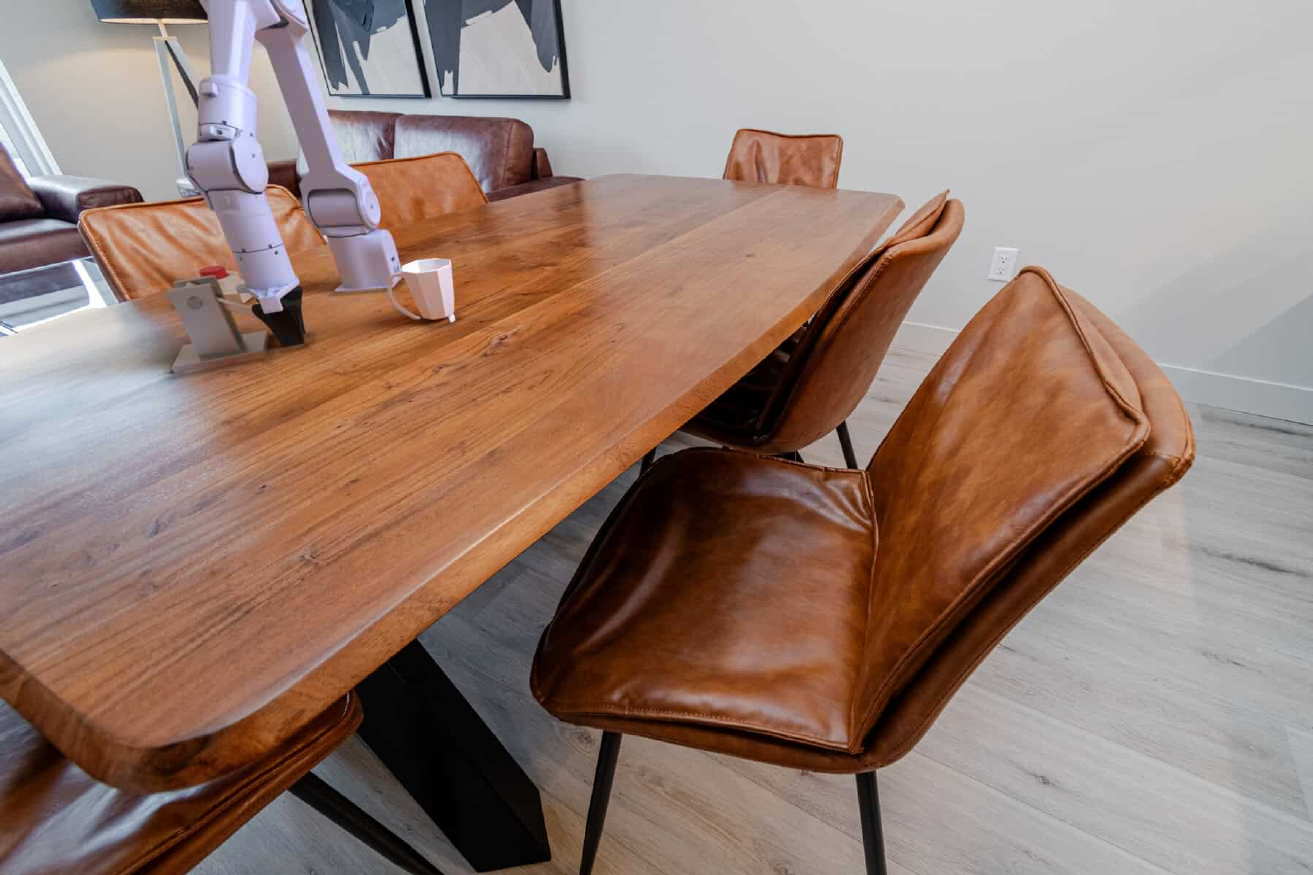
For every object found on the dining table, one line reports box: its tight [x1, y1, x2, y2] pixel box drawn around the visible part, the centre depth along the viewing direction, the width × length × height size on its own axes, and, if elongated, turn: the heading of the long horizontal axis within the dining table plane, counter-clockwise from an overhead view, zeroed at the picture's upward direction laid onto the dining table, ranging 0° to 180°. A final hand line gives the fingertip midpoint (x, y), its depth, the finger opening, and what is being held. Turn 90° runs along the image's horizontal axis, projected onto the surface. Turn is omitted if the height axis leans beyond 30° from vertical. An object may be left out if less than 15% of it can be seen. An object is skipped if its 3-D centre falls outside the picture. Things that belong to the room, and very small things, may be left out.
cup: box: [386, 257, 456, 323], centre depth 84 cm, size 7×10×8 cm
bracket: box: [166, 275, 270, 374], centre depth 76 cm, size 10×8×10 cm
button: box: [198, 265, 228, 280], centre depth 98 cm, size 4×4×2 cm
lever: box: [185, 282, 260, 320], centre depth 77 cm, size 12×3×3 cm
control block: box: [198, 270, 254, 304], centre depth 99 cm, size 10×8×4 cm
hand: (297, 347), depth 82 cm, fingers open, 3 cm apart
